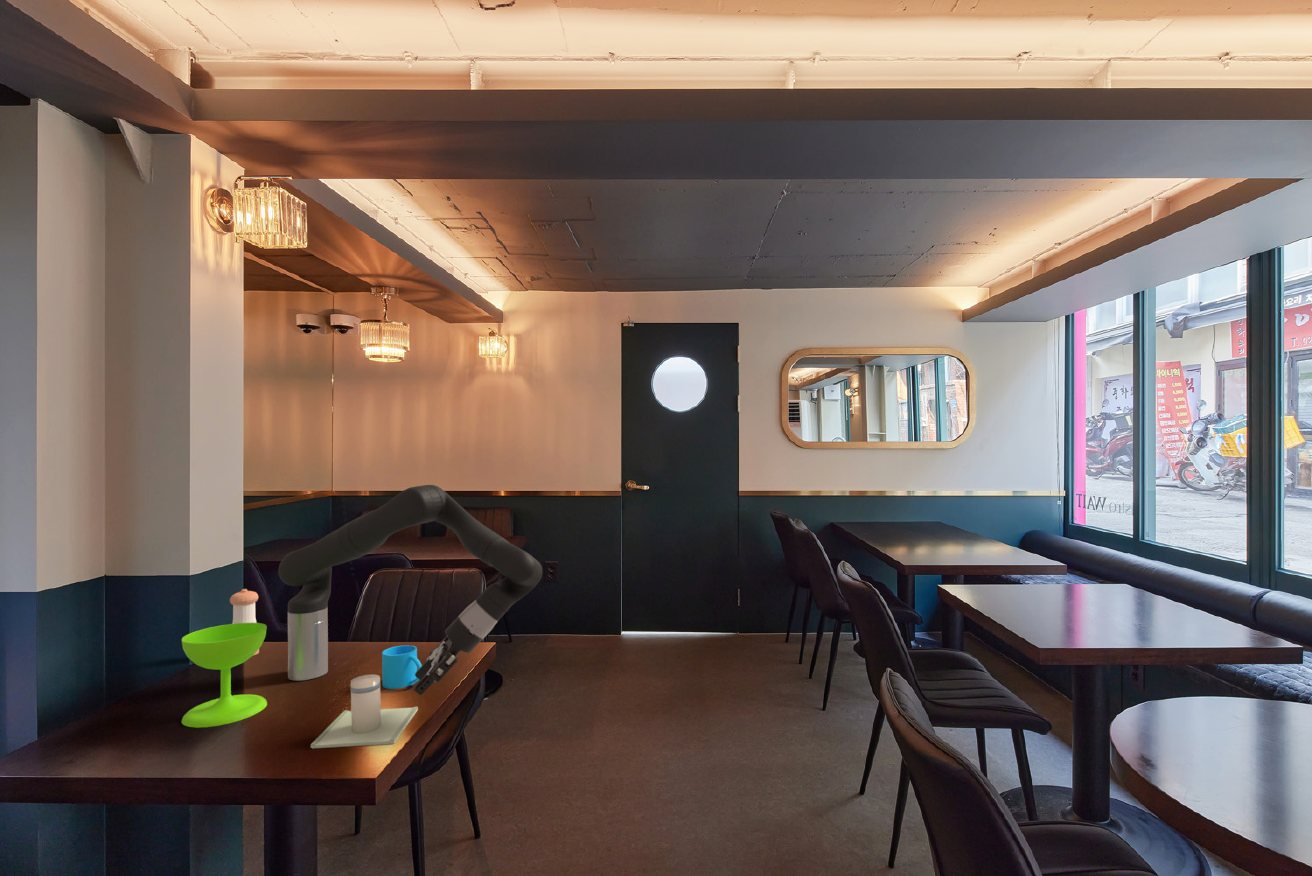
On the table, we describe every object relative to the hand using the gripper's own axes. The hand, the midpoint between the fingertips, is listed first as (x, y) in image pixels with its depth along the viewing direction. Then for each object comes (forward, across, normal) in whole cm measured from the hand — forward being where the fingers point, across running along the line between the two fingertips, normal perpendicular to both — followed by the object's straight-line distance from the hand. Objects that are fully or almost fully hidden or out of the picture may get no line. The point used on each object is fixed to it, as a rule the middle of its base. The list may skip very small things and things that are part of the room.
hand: (417, 684), depth 133 cm
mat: (+13, -1, -1) cm, 13 cm away
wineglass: (+35, -22, -23) cm, 48 cm away
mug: (+8, -25, +4) cm, 26 cm away
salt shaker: (+41, -68, -28) cm, 84 cm away
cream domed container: (+12, 0, -2) cm, 12 cm away
